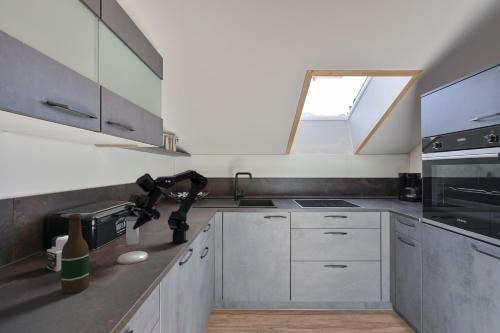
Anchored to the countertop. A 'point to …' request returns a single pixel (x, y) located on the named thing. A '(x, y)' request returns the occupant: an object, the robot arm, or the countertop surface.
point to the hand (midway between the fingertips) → (129, 228)
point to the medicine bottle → (56, 252)
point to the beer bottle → (74, 259)
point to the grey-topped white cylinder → (132, 230)
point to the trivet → (132, 257)
